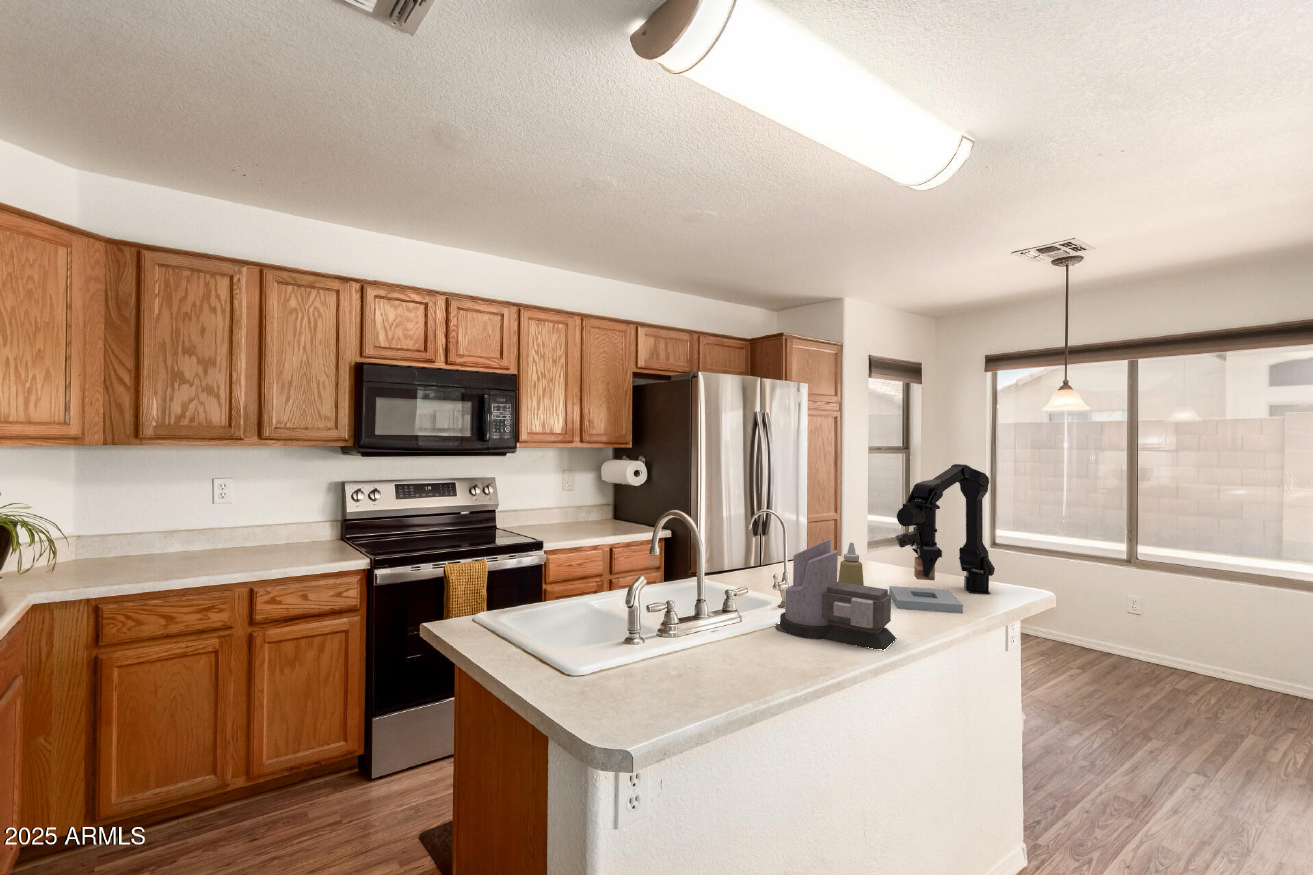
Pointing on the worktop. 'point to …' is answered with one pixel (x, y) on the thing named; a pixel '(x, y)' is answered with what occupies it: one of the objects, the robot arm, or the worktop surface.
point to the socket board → (925, 599)
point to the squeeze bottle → (851, 568)
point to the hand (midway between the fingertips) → (924, 574)
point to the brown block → (920, 573)
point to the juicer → (833, 604)
